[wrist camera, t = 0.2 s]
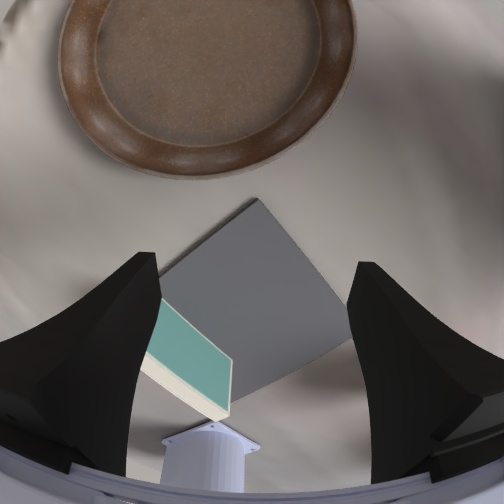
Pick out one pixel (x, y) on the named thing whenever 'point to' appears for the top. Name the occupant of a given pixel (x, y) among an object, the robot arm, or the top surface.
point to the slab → (189, 365)
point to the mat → (256, 300)
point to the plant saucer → (204, 79)
